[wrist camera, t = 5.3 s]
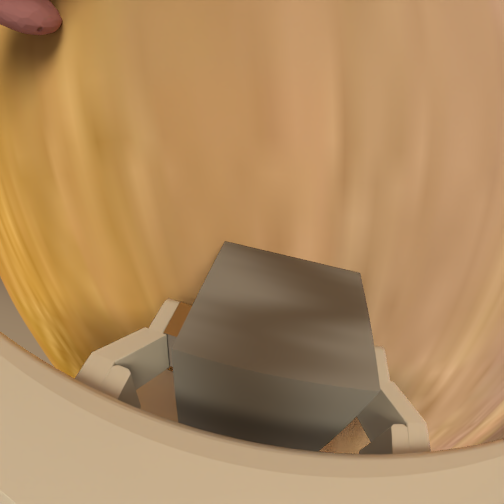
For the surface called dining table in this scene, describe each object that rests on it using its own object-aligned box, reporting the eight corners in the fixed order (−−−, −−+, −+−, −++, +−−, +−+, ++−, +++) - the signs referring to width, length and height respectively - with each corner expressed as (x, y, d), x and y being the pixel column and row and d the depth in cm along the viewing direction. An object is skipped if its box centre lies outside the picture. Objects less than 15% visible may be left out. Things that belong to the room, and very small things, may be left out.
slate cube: (360, 272, 10) (380, 391, 6) (318, 357, 13) (313, 455, 8) (225, 241, 10) (171, 348, 6) (213, 333, 13) (179, 427, 9)
